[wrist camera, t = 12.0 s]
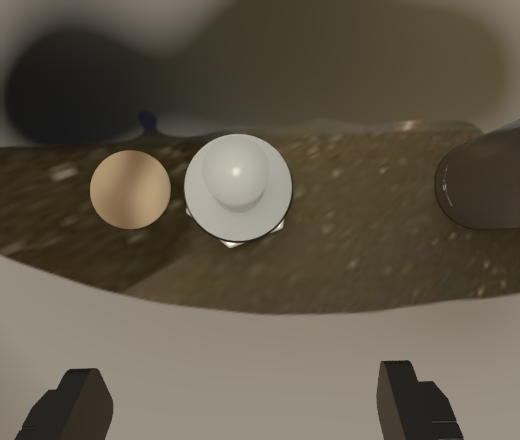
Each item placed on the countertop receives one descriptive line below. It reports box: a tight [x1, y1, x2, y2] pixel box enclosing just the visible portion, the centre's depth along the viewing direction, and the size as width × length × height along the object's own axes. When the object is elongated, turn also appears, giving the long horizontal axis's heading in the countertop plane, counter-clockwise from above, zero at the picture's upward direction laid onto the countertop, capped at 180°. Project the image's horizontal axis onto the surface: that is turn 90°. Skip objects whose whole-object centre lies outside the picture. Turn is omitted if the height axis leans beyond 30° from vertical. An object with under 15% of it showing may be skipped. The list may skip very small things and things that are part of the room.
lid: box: [184, 134, 292, 241], centre depth 25 cm, size 8×8×8 cm
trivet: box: [90, 150, 171, 229], centre depth 41 cm, size 8×8×1 cm
